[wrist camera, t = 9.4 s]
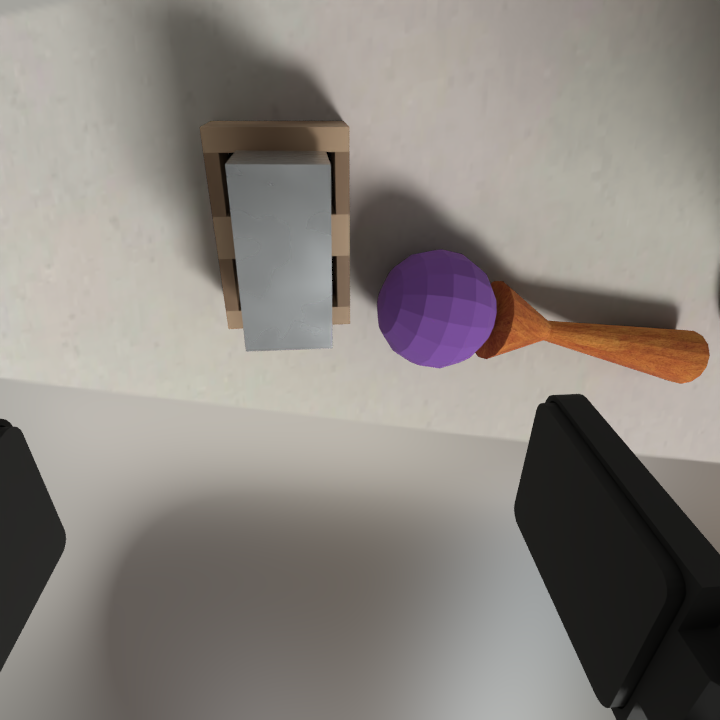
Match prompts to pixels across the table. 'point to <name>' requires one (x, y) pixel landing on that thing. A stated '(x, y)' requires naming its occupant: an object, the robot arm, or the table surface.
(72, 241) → the table surface
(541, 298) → the table surface
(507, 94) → the table surface
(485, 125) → the table surface
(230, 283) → the wooden frame
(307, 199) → the steel brick
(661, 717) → the robot arm
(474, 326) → the kendama
